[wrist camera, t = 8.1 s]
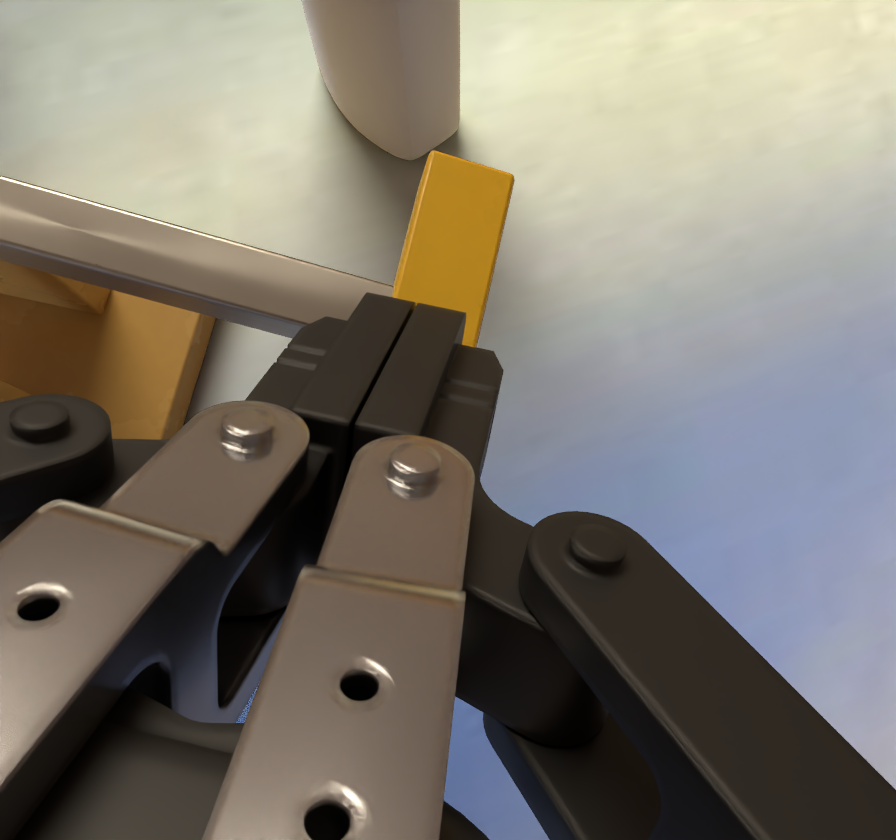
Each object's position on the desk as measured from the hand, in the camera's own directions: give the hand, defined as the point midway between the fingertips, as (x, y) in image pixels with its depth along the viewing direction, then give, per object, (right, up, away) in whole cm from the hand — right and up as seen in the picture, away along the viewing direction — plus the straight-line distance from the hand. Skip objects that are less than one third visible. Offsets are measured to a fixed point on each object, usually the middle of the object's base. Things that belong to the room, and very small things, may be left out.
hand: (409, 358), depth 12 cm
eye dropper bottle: (-1, +10, +15) cm, 18 cm away
